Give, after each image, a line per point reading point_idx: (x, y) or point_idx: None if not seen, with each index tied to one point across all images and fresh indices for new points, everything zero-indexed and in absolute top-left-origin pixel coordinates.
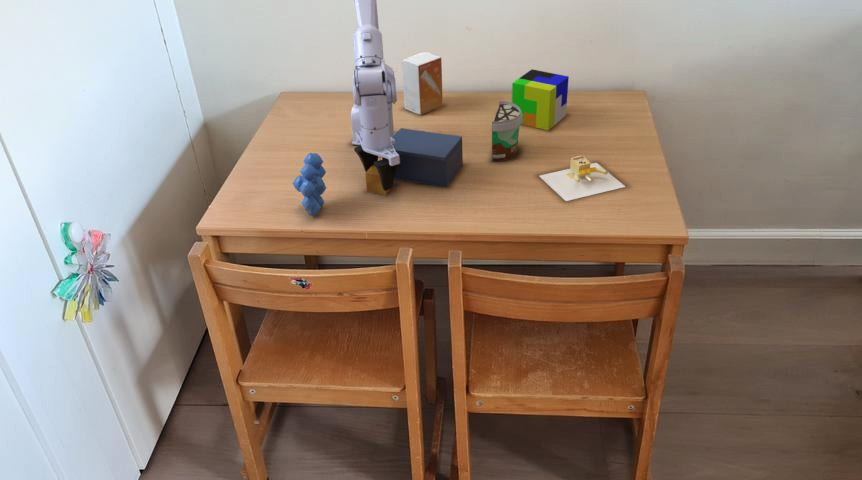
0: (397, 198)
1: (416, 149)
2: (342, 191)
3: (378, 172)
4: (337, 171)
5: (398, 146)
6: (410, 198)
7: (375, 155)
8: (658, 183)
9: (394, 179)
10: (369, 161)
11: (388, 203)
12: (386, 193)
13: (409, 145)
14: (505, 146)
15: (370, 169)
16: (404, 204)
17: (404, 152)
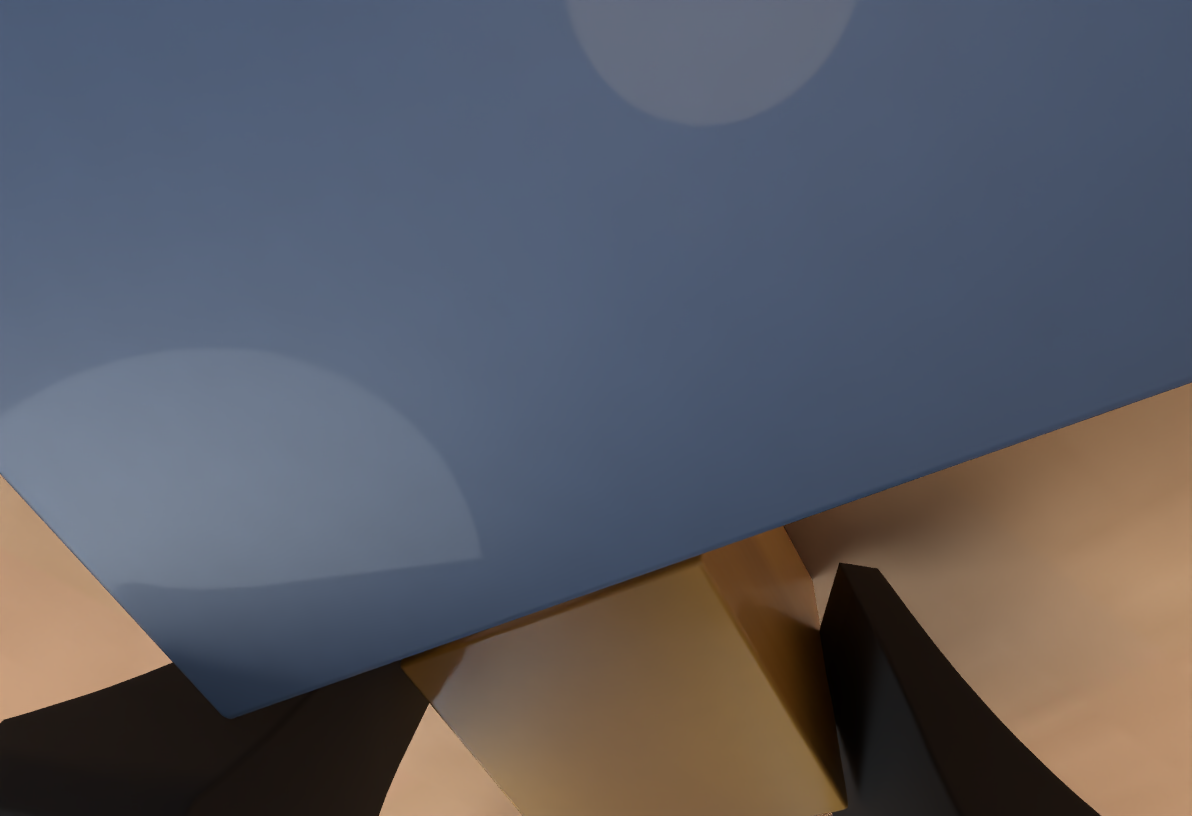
0: (982, 549)
1: (1160, 60)
2: (441, 748)
3: (695, 791)
4: (63, 572)
5: (404, 396)
6: (1136, 457)
7: (326, 736)
8: None
9: (939, 652)
10: (367, 758)
11: (971, 663)
12: (809, 577)
13: (590, 32)
14: None
15: (531, 790)
16: (1161, 584)
17: (847, 485)
